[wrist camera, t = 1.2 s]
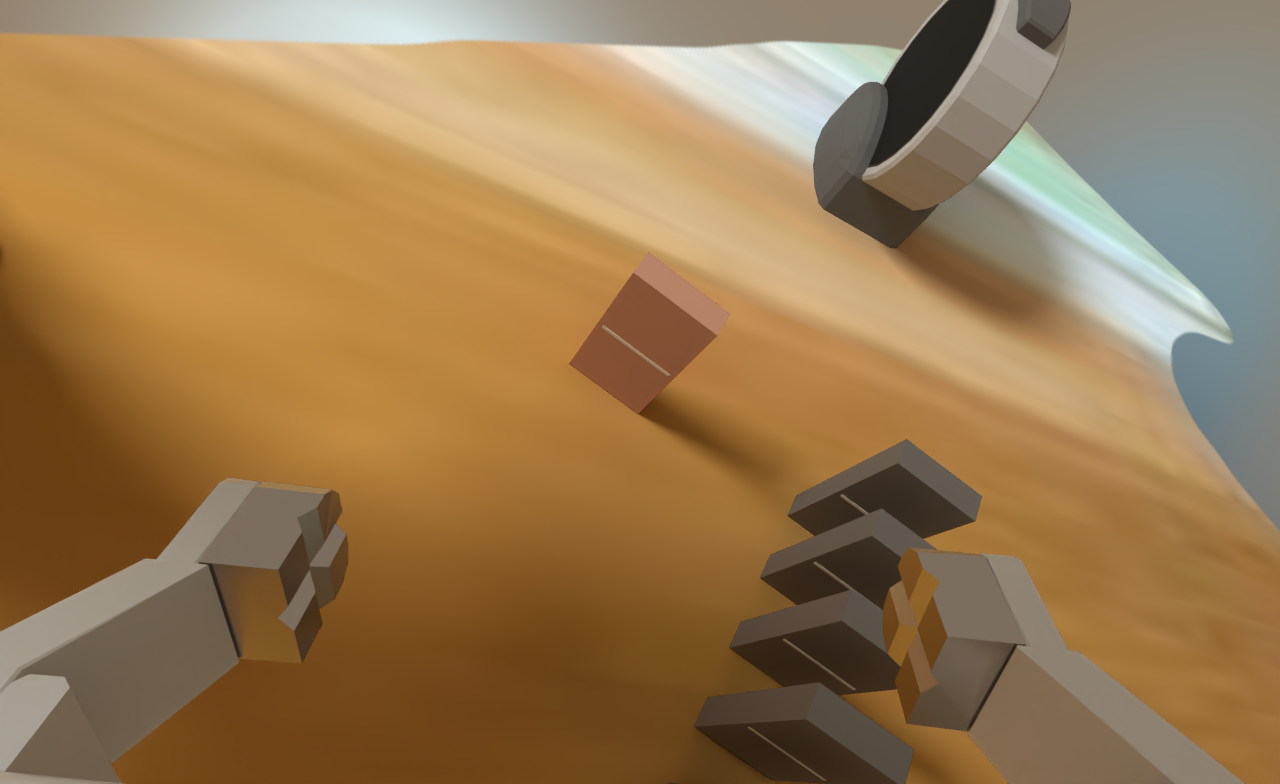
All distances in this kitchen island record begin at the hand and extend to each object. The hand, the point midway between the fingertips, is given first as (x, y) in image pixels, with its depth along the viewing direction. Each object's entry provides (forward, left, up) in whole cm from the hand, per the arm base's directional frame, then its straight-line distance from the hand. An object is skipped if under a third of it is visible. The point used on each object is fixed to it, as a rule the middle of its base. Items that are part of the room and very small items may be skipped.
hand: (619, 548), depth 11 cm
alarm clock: (-19, +48, -28) cm, 58 cm away
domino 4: (+8, +18, -27) cm, 34 cm away
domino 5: (+10, +14, -27) cm, 32 cm away
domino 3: (+6, +22, -27) cm, 35 cm away
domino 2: (+4, +26, -27) cm, 38 cm away
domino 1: (-10, +17, -27) cm, 34 cm away
